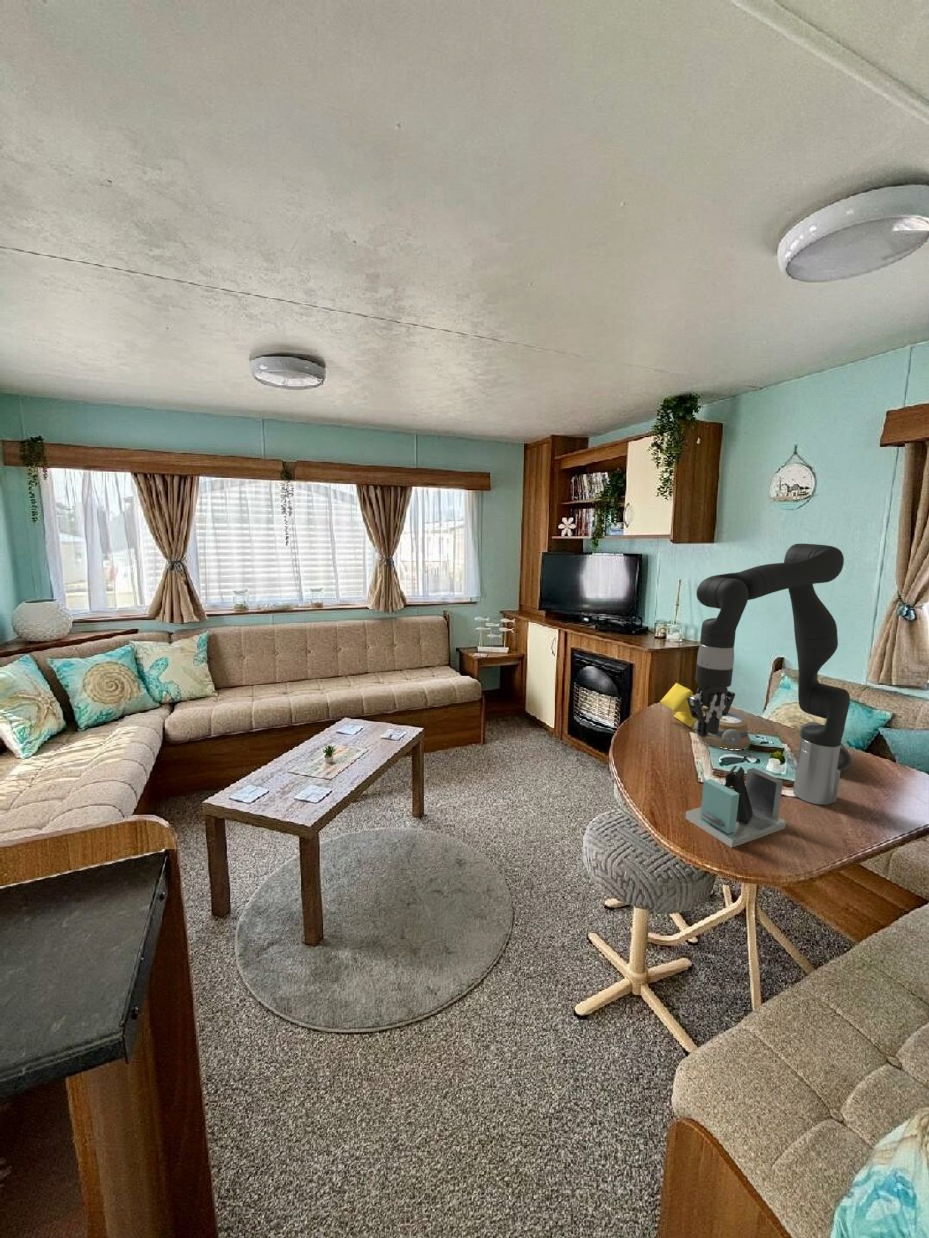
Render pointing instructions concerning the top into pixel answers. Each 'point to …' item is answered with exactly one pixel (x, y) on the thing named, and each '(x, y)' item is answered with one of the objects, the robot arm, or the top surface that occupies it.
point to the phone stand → (740, 794)
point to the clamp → (680, 704)
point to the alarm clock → (728, 733)
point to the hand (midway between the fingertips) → (707, 734)
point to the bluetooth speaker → (844, 755)
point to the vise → (764, 806)
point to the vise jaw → (719, 805)
